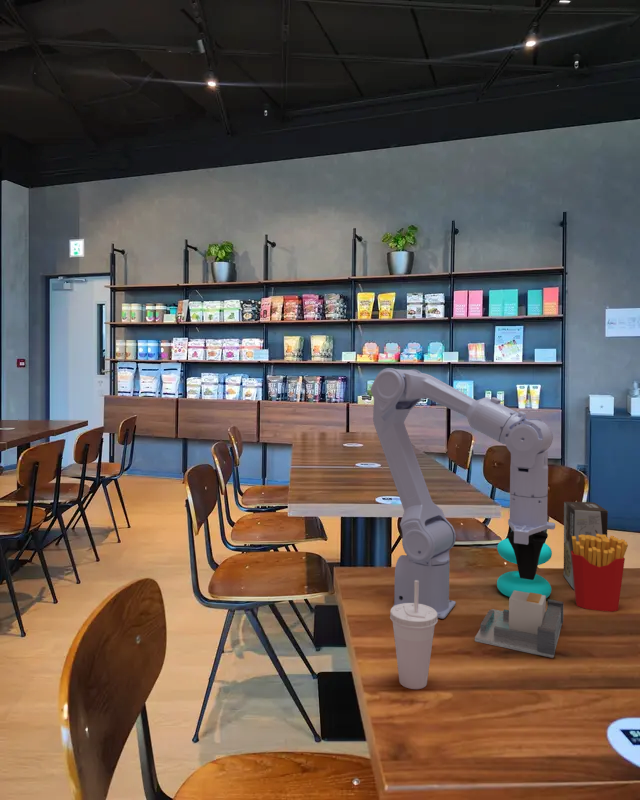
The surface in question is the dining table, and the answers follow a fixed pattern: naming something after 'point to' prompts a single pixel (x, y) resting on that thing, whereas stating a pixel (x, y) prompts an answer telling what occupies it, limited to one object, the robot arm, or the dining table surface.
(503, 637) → the rail
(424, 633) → the smoothie
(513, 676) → the dining table surface
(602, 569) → the french fries
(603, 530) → the coffee box
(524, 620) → the block
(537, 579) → the donuts
